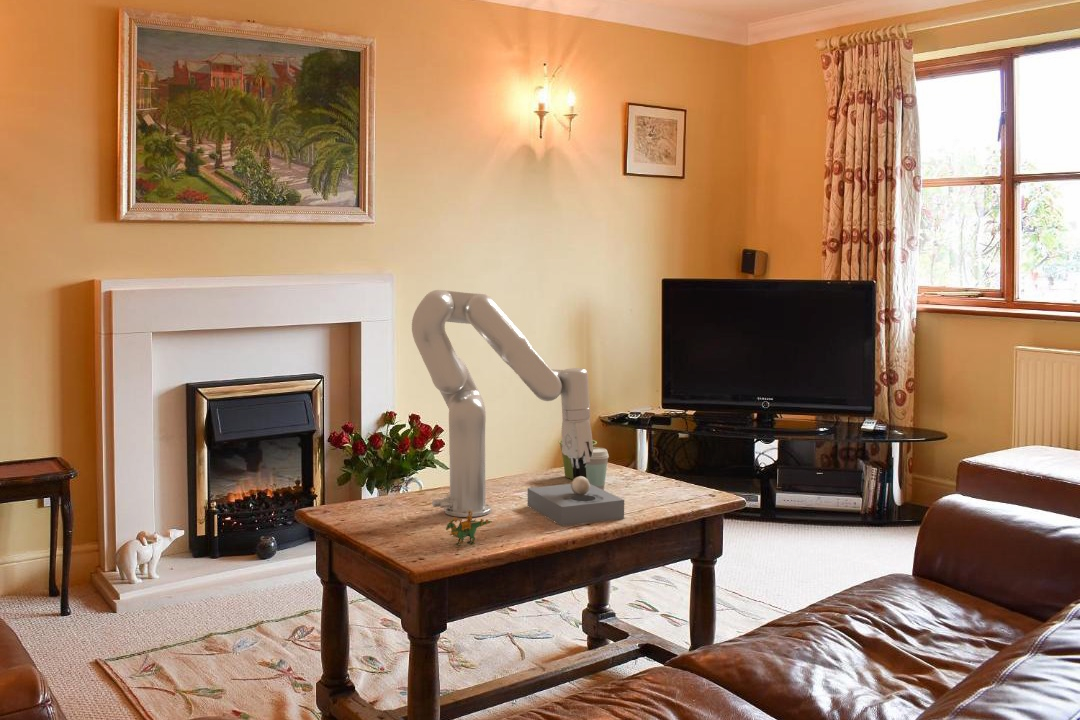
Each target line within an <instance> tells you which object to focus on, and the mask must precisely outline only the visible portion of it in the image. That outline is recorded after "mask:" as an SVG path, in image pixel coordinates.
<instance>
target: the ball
mask: <svg viewBox="0 0 1080 720" xmlns="http://www.w3.org/2000/svg"><path fill="white" fill-rule="evenodd" d="M570 484H571V488H572V491H573V492H574V493H575V494H577V495H584V494H586V493H587V492H588V491H589V488H590V483H589V481H588V479H587V478H585V477H583V476H578V477H576V478H574V479H572V481H571V483H570Z"/></svg>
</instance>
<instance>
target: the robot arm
mask: <svg viewBox="0 0 1080 720" xmlns="http://www.w3.org/2000/svg"><path fill="white" fill-rule="evenodd" d="M446 323H458V324H466V325H467V324H468V325H471V326H472V327H473V329H474V330H476V331H477V332H478V334H479V335H480V336H481V337H482V338H483V340H485V342H487V344H488V345H489V346H490V347H491V348H492V349H493V351H494V352H495V353H496V354H497V355H498V356H499V357H500V358H501V360H502V361H503V362H504V363H505V364H507V366H508V367H510V369H512V371H513V372H514V373H515V374H516V375H517V376H518V377H519V379H521V381H522V382H523V383H524V384H525V385H526V386H527V388H529V390H530V391H531V392H532V393H533V394H534V395H535V397H537V398H538V399H539V400H541V401H542V402H543V401H544V402H551V401H554V400H556V399H557V398H558V397H559V396H561V397H560V398H561V399H560V400H561V401H560V402H561V416H562V419H561V420H562V423H561V440H562V451H561V454H562V453H563V454H564V455H566V456H568V457H569V458H570V459H571V464H572V467H574V468H573V479H574V478H576V477H578V476H583V477H585V478H586V467H587V463H590V457H591V456H592V455H593V441H592V440H593V435H592V433H593V432H592V427H591V421H590V420H591V405H590V404H591V402H590V386H589V385H590V382H589V373H588V371H587V369H585V368H581V367H572V368H571V367H570V368H565V369H552V368H550V366H548V364H547V363H546V362H545V361H544V360H543V359H542V357H540V355H539V354H538V353H537V351H535V348H533V347H532V345H531V344H530V342H529V340H528V338H527V337H526V336H525V335H524V334H523V333H522V331H521V330H520V329H519V328H518V327H517V326H516V325H515V324H514V322H513V321H512V320H511V319H510V318H509V317H508V315H507V314H506V313H505V312H504V311H503V310H502V309H501V307H499V305H498V304H497V303H496V302H495V301H494V299H492V297H491V296H489V295H487V294H486V293H485V294H484V293H474V292H472V293H471V292H463V291H453V290H445V289H436V290H431V291H429V292H428V293H427V294H426V295H425V296H424V297H423V298H422V300H421V301H420V302H419V303H418V305H417V307H416V309H415V311H414V313H413V315H412V320H411V332H412V337H413V340H414V344H415V346H416V347H417V350H418V353H419V354H420V356H421V358H422V361H423V363H424V365H425V367H426V369H427V371H428V373H429V375H430V378H431V381H432V384H433V386H434V387H435V388H436V389H437V390H438V391H439V393H440V394H441V396H442V398H443V401H444V402H445V404H446V406H447V407H448V408H447V409H448V434H449V435H448V436H449V440H448V443H449V444H448V446H449V449H448V450H449V451H448V452H449V454H448V455H449V493H447V494H446V497H443V498H441V499H438V498H437V499H432V501H431V502H432V503H431V504H432V507H433V508H437V507H440V508H443V511H444V513H445V514H446V515H448V516H451V517H455V518H457V517H458V518H467V516H469V515H468V513H469V511H470V510H471V511H472V516H471V517H472V518H475V517H481V516H486V515H488V514H490V513H491V512H492V506H491V505H490V504H489V503H486V422H487V421H486V419H487V418H486V414H487V413H486V406H485V402H484V399H483V398H482V396H481V393H480V391H479V389H478V388H477V384H476V382H475V381H474V380H473V377H472V375H471V373H470V371H469V368H468V367H467V365H466V364H465V362H464V360H462V358H460V357H458V354H457V353H456V350H455V349H454V347H453V345H452V343H451V340H450V339H449V337H448V335H447V332H446V328H445V325H446ZM573 479H572V480H573ZM470 515H471V513H470Z"/></svg>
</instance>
